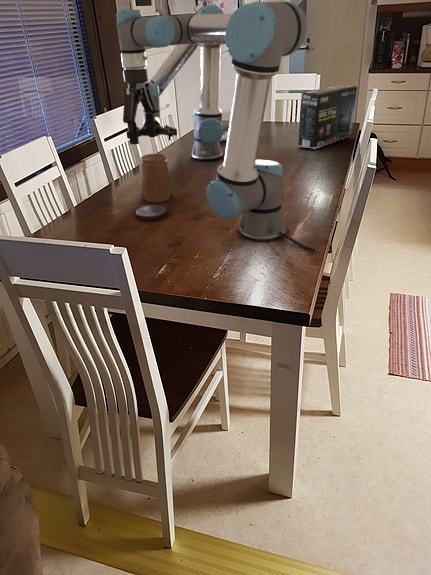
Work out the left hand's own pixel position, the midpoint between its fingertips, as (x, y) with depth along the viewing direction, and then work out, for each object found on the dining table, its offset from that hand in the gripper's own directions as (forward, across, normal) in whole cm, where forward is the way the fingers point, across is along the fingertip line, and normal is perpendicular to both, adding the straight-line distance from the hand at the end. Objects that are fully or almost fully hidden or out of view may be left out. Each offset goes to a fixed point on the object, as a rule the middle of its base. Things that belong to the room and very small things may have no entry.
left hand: (151, 138), depth 179 cm
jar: (+10, 0, -21) cm, 23 cm away
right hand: (+28, +2, +6) cm, 28 cm away
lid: (+27, +2, -20) cm, 34 cm away
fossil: (-75, -43, -21) cm, 89 cm away
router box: (-56, -90, -21) cm, 108 cm away
